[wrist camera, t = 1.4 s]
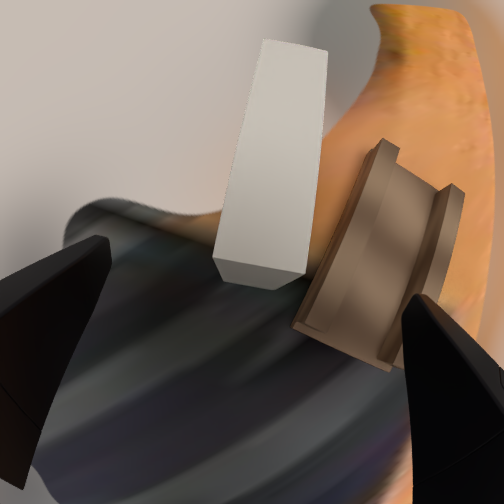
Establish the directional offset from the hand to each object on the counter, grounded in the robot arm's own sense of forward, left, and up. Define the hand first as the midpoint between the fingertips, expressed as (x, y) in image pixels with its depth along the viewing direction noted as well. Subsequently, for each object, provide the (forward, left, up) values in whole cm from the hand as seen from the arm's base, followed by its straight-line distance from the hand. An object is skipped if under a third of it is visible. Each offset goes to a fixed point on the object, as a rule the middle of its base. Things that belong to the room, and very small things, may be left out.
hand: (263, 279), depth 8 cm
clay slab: (+7, +1, -13) cm, 15 cm away
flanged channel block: (+6, -8, -13) cm, 17 cm away
